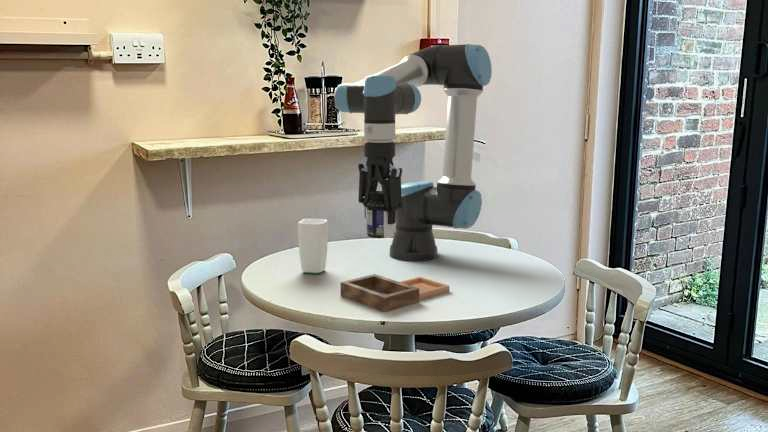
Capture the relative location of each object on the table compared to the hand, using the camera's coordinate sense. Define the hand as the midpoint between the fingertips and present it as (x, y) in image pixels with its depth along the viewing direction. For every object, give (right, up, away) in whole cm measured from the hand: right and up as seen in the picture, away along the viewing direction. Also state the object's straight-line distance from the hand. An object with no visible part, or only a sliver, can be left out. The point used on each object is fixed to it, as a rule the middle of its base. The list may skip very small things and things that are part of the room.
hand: (379, 234), depth 167 cm
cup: (-19, -12, +27) cm, 35 cm away
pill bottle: (0, -1, 0) cm, 1 cm away
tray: (+10, -15, +10) cm, 21 cm away
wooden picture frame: (0, -16, +3) cm, 17 cm away
